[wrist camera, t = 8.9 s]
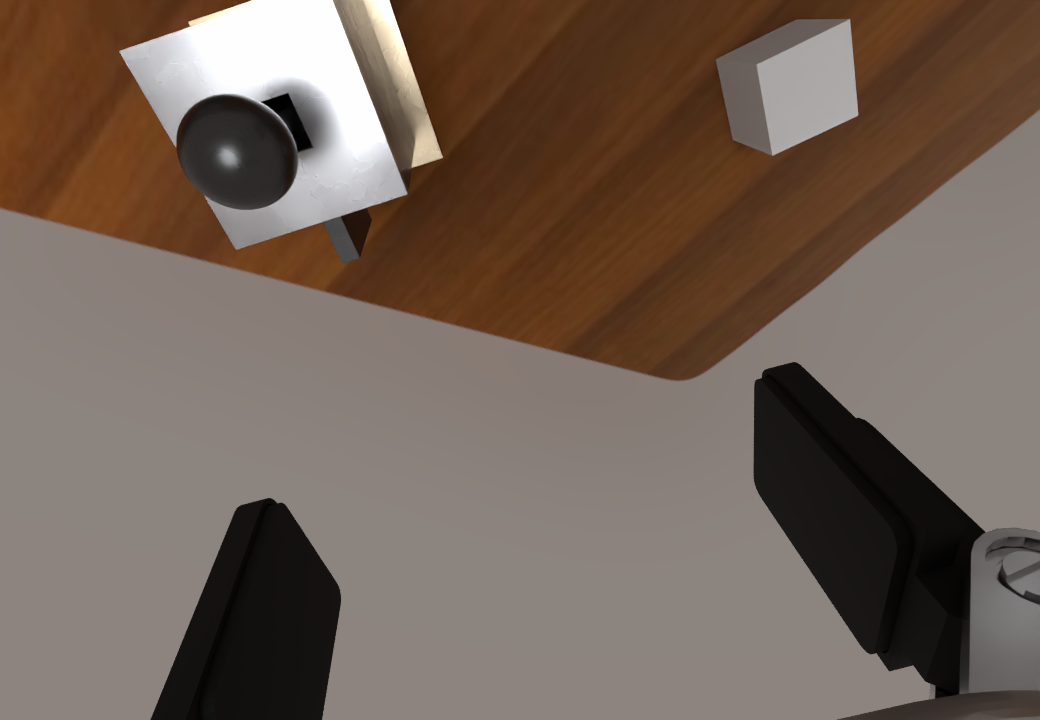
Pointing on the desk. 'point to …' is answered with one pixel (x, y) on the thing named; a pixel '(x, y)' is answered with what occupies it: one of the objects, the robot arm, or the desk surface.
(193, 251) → the desk surface
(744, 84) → the white cube
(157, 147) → the desk surface
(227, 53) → the grey slotted box
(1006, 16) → the desk surface
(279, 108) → the ball knob lever
